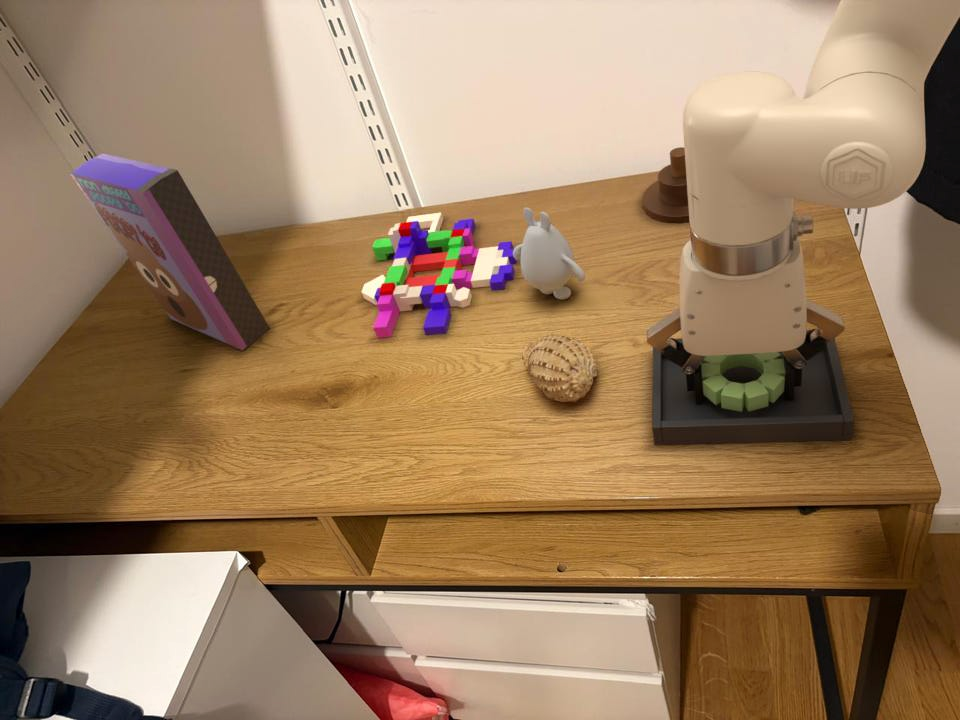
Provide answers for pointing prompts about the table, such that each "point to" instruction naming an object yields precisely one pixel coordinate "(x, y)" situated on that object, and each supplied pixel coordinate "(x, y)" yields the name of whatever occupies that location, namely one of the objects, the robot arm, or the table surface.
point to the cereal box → (172, 247)
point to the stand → (669, 191)
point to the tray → (805, 418)
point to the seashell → (560, 367)
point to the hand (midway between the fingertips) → (742, 390)
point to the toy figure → (546, 257)
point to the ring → (748, 393)
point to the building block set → (434, 289)
